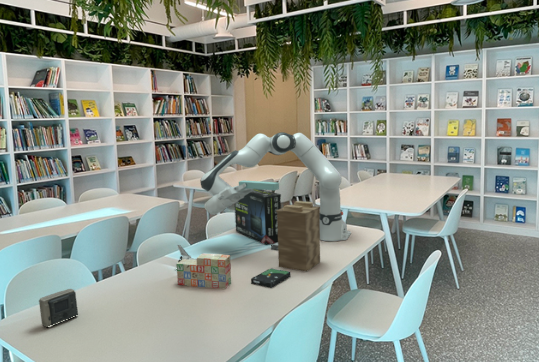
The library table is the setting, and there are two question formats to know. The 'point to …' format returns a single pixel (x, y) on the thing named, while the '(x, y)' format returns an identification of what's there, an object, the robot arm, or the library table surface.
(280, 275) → the disk drive
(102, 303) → the library table surface
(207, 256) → the stack of blocks
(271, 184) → the batten
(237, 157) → the robot arm
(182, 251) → the space shuttle model
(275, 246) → the graphics card
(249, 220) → the router box
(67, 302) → the camera
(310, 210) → the brown tall textured block
